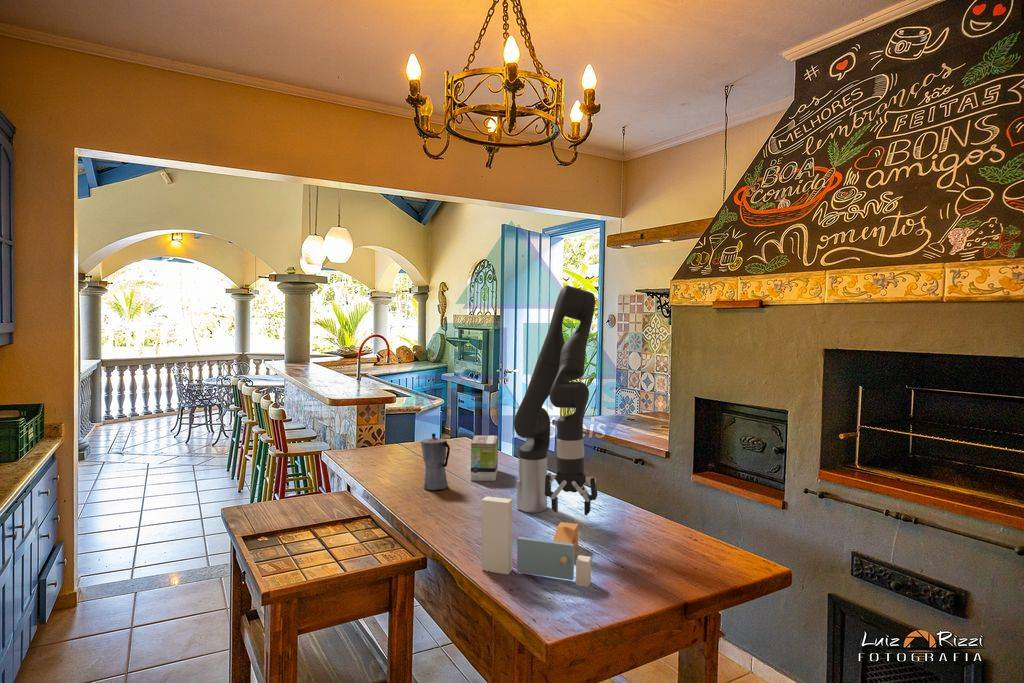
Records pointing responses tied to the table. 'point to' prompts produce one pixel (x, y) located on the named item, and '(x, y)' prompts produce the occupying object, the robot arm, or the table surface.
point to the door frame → (500, 540)
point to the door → (545, 558)
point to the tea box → (484, 458)
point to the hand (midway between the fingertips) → (571, 512)
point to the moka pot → (435, 462)
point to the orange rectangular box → (567, 534)
